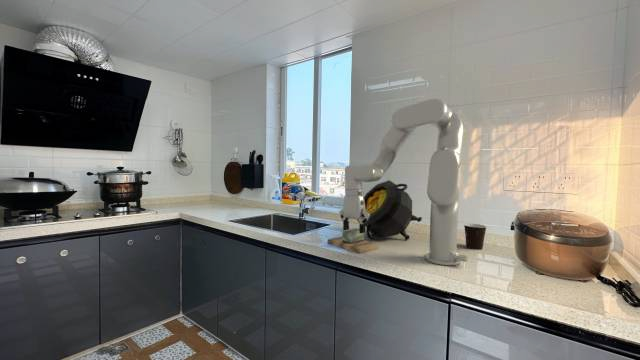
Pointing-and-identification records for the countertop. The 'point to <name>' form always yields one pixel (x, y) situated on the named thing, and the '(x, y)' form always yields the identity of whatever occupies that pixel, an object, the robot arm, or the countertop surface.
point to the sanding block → (352, 236)
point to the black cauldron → (388, 210)
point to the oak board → (354, 245)
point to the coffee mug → (474, 236)
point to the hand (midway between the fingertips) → (354, 231)
